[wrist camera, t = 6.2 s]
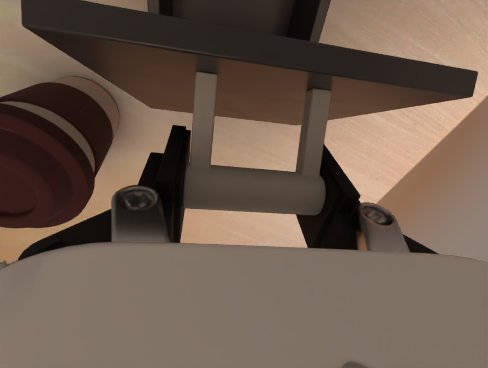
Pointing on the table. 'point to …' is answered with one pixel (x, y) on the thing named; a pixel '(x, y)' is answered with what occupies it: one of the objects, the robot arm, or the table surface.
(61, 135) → the coffee cup
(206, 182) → the lid
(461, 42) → the table surface
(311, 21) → the open dark brown box
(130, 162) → the table surface
